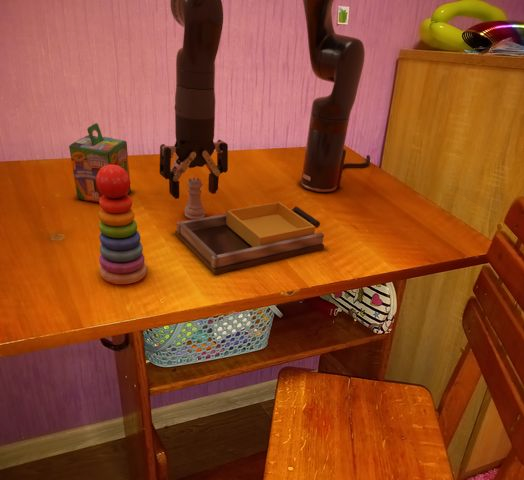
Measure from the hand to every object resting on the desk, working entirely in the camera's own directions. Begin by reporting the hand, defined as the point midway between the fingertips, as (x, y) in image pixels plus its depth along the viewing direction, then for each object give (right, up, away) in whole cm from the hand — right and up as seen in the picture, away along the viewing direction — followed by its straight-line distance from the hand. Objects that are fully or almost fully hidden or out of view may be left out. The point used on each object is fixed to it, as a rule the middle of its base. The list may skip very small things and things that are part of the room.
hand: (194, 194), depth 103 cm
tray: (+17, -8, -2) cm, 19 cm away
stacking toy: (-10, -20, -17) cm, 28 cm away
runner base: (+12, -11, -4) cm, 16 cm away
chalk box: (-21, +2, +8) cm, 23 cm away
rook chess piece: (0, -4, +4) cm, 5 cm away
